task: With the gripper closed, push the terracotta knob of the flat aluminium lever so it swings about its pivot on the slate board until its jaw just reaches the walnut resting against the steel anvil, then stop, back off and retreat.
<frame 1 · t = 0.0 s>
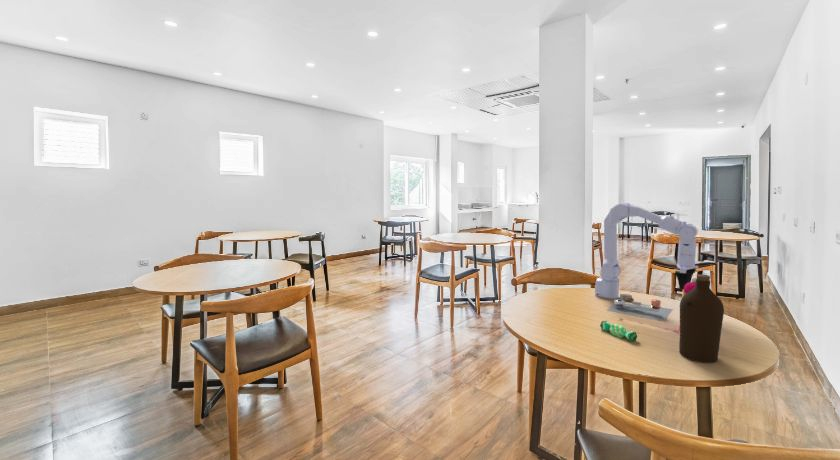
hand: (684, 287, 152), 10 cm above the table, tool pointing down, fingers open, 7 cm apart
nutcracker base: (639, 312, 153), on the table
pepper mill: (691, 334, 130), on the table
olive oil: (698, 356, 114), on the table
candy: (617, 336, 131), on the table
walnut: (629, 304, 159), point 1 cm above the table, touching nutcracker base
lever: (636, 302, 151), point 5 cm above the table, hinge at 0.0°
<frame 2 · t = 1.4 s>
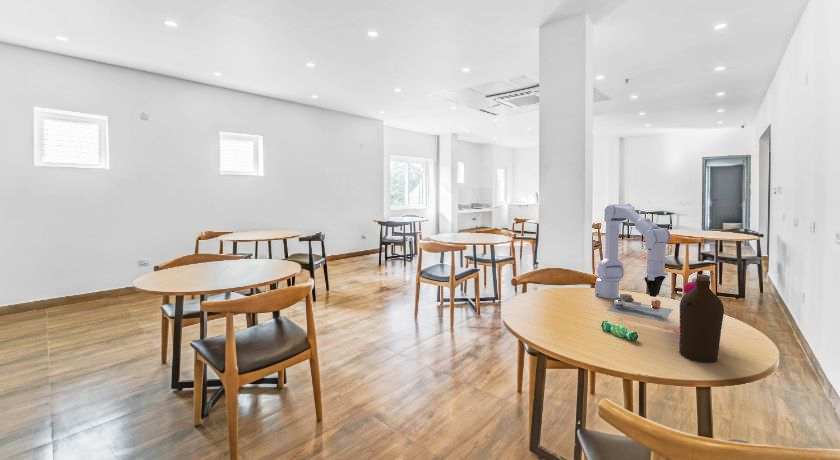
hand: (654, 295, 143), 10 cm above the table, tool pointing down, fingers open, 3 cm apart
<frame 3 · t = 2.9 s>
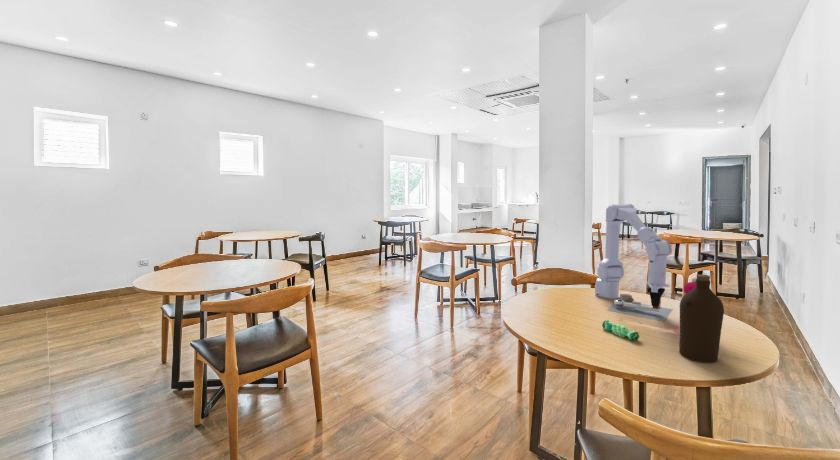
hand: (655, 306, 145), 5 cm above the table, tool pointing down, fingers closed
lever: (636, 302, 151), point 5 cm above the table, hinge at 2.3°, touching gripper
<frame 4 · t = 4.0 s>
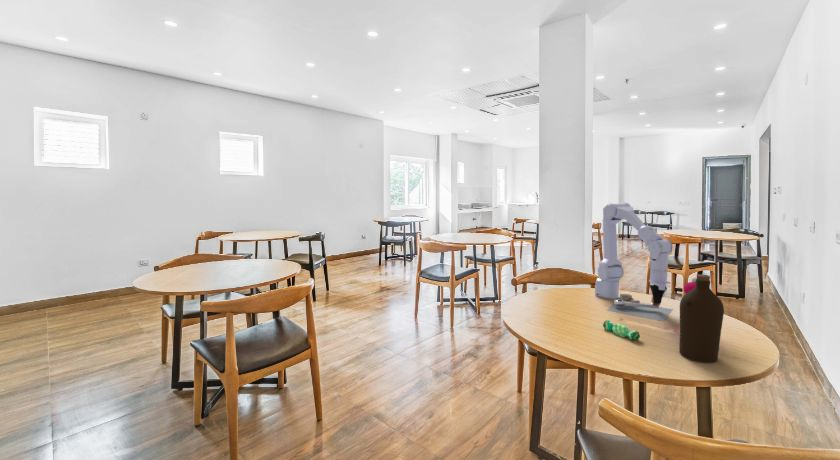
hand: (657, 303, 149), 5 cm above the table, tool pointing down, fingers closed
lever: (636, 300, 153), point 5 cm above the table, hinge at 21.9°, touching gripper
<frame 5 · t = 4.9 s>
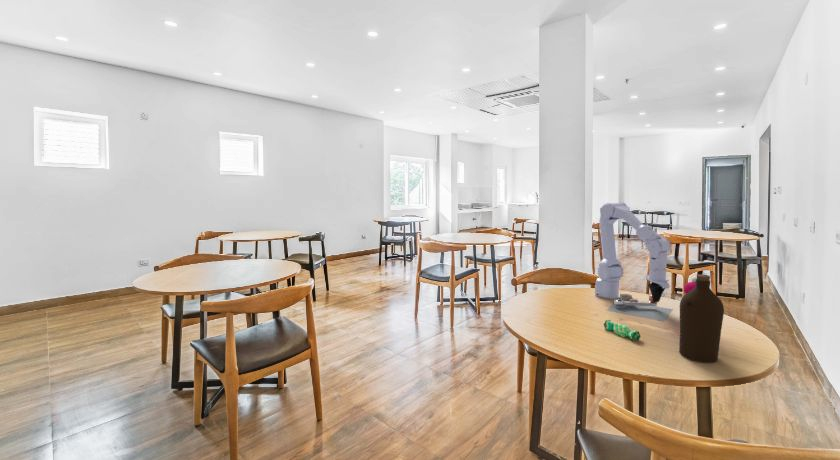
hand: (656, 301, 151), 5 cm above the table, tool pointing down, fingers closed
lever: (635, 299, 155), point 5 cm above the table, hinge at 34.6°, touching gripper
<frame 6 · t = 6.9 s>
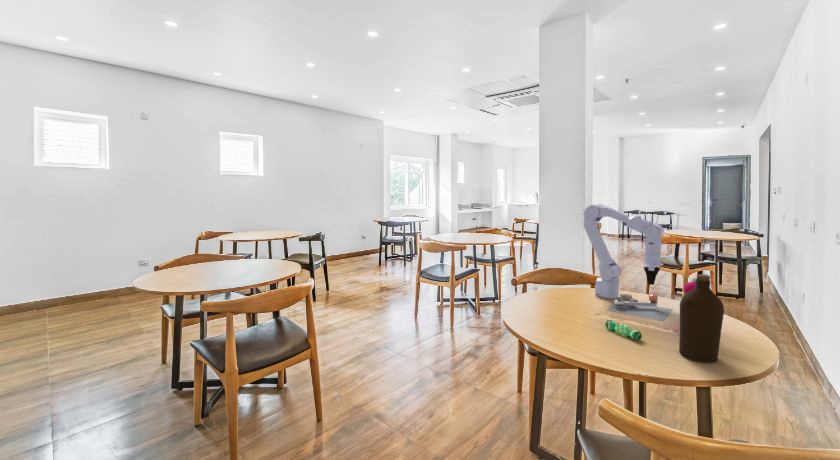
hand: (650, 284, 159), 10 cm above the table, tool pointing down, fingers closed
lever: (635, 299, 155), point 5 cm above the table, hinge at 34.8°
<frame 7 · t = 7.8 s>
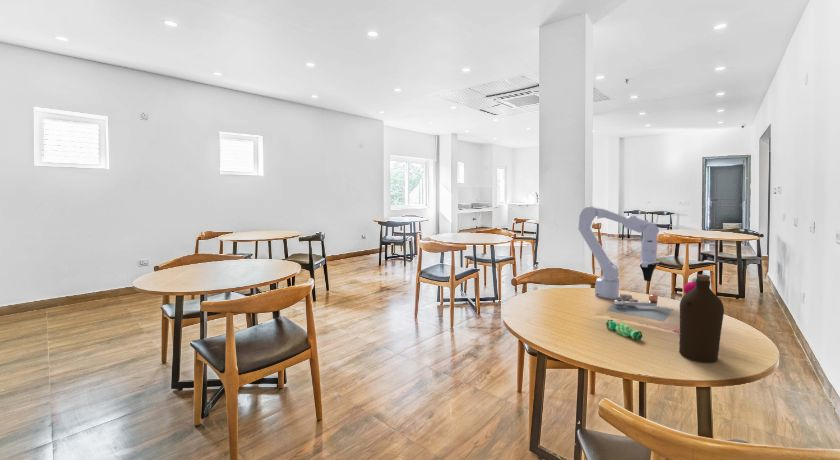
hand: (647, 280, 165), 10 cm above the table, tool pointing down, fingers closed
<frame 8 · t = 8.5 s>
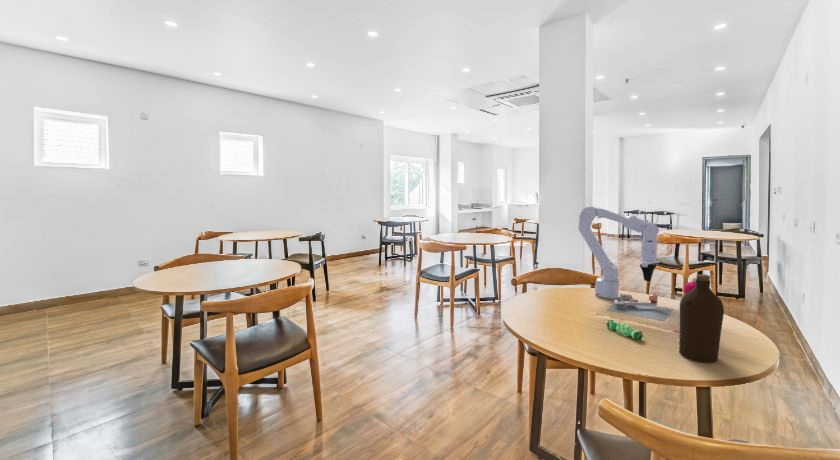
hand: (647, 280, 165), 10 cm above the table, tool pointing down, fingers closed
at the end: lever at +35° (first picture: +0°); walnut 0.0 cm from the target spot, point 1.2 cm above the table; the gripper is holding nothing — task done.
